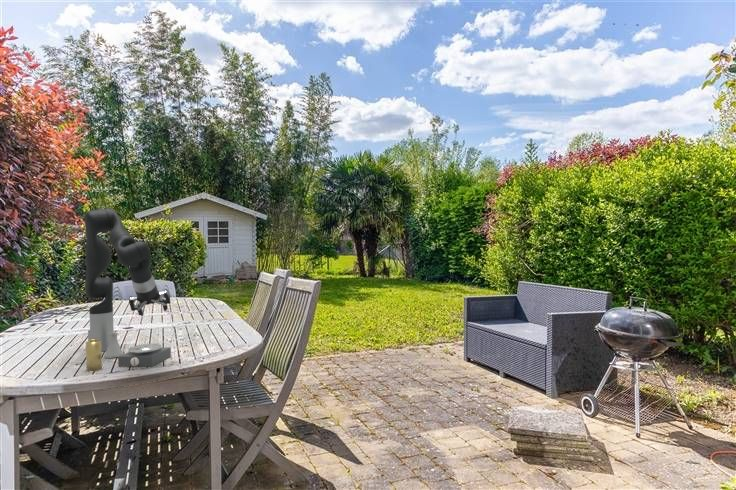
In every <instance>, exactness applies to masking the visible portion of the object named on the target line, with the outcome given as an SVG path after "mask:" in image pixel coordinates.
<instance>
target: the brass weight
mask: <svg viewBox="0 0 736 490" xmlns="http://www.w3.org/2000/svg"><path fill="white" fill-rule="evenodd" d="M85 357H86V359H85V362H86V372H87V371H94V372H98V371H101V370H102V369H103V366H102V365H103V363H102V362H103V361H102V352H101V340H97V338H93V339H90V341H88V340H87V341H86V342H85Z"/></svg>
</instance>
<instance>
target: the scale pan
mask: <svg viewBox="0 0 736 490" xmlns="http://www.w3.org/2000/svg"><path fill="white" fill-rule="evenodd" d="M161 347H162V344H160V343H144V344H138V345H134V346H131V347H129V348H128V352H129V353H136V354H137V353H148V352H153V351H157V350H159V349H161Z"/></svg>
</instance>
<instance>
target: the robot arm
mask: <svg viewBox="0 0 736 490" xmlns="http://www.w3.org/2000/svg"><path fill="white" fill-rule="evenodd" d="M84 227H85V237H86V241H85V242H86V244H85V247H86V248H85V267H86V268H85V269H86V271H85V273H86V274H85V283H84V293H85V296H86V297H87V298H88V299H101V298H104V299H103V300H102V301H101V302H99V303H97V304H95V305H93V306H90V307H89V313H88V314H89V330H87V342H88V341H90V339H93V338H97V340H101V353H102V352H106V350H107V347H108V345H109V341H110V335H109V334H110V333H115V332H114V331H115V330H114V329H115V328H114V307H113V305H114V304H113V298H114V297H113V296H114V294H113V293H114V283H113V279H112V278H111V277H105V276H104V277H99V276H100V275H101V274H102V273H104V272H105V271H106V270H107V269H108V268H109V266H110V265H111V262H112V249H111V248H110V246H109V245H108V244H107V243H106V242H105V241H103V240H102V239H101V238H100V237H99V236H98V234H99V233H107V232H110V233H109V235H108V239H109V240H108V241H109V243H110V244H111V246H113V248H114V249H115V250H116V257H117V259H118V262H119V263H120V265H122V266H125V267H128V273H129V276H130V279H131V282H132V287H133V289H134V292H135V295H136V296H135V297H133V296H132V295H131V296H130V295H129V297H128V303H129V307H130V310H131V311H132V312H133V311H137V314H138V315H139V316H141V317H143V316H144V311H143V308H144V307H145V305H146V306H147V305H152V304H157V305H162V309H163V311H164V312H167V310H168V304H169V305H170V304H171V297H170V295H169V292H168V290H167V289H164V290H163V291H159V290H158V287H157V283H156V281H155V277H154V276H153V274H152V270H151V267H150V265H151V256H152V255H151V249H150V245H148V243H147V242H145V241H142V240H138V241H136V240H135V238H134V237H133V236H132V235H131V234H130V233H129V232H128V231H127V229H126V227H125V225H124V224H123V222H122V220H121V218H120V216H119V214H118V213H117V212H116V211H115V210H114V209H112V208H110V207H109V208H99V209H92V210H87V211H86V212H85V214H84ZM136 301H137V302H138V303H137V304H135V303H136Z"/></svg>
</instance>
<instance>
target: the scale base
mask: <svg viewBox="0 0 736 490" xmlns="http://www.w3.org/2000/svg"><path fill="white" fill-rule="evenodd" d="M171 351H172V349H171V347H162V346H161V349H159V350H157V351H153V352H148V353H137V354H136V353H129V351H128V352H125V353H123V355H120V356H118V357H117V366H118V367H121V368H122V367H125V368H126V367H128V368H129V367H132V368H134V367H136V368H137V367H141V368H142V367H147V368H148V367H150V368H151V367H154V366H156V365H158V364H160V363H162V362H164V361H166V360H168V359H169V358H171V357H172V352H171Z"/></svg>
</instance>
